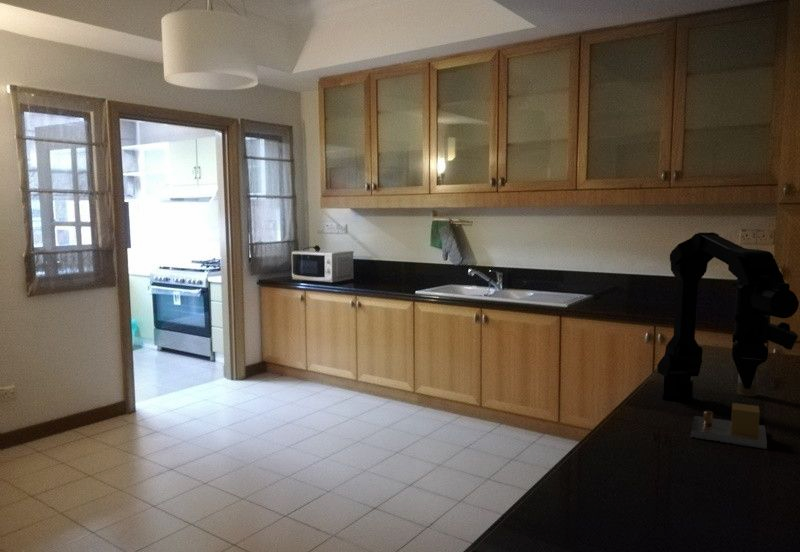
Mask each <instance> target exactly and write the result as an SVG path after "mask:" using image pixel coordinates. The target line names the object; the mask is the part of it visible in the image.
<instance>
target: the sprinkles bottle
mask: <svg viewBox="0 0 800 552" xmlns="http://www.w3.org/2000/svg"><path fill="white" fill-rule="evenodd" d="M737 373H738V372H737ZM757 384H758V368H757V369H756V372H755V376H754V379H753V382H752V385H751V388H750V389H745V388H744V386H743V383H742V381H741V378H740V375H739V373H738V374H737V390H736V393H737V394H738V395H740V396H742V397H748V398H749V397H756V396H757Z"/></svg>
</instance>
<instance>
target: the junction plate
mask: <svg viewBox="0 0 800 552" xmlns="http://www.w3.org/2000/svg"><path fill="white" fill-rule="evenodd" d="M713 416H714V412H713V411H712V410H704V411H703V416H698V415H694V416H693V419H692V424H691V429H690V438H692V437H695V438H694V439H698V438H699V439H700V440H704V439H705V441H711V440H713V442H717V441H720V443H724V442H725V444H730V443H732V444H731V445H738V446H745V447H750V448H758V449H764V450H767V449H768V440H767V433H766V426H765V425H763V424H762V425H761V424H759V433H758V436H754V435H748V434H741V433H734V432H731V420H727V419H720V418H719V419H718V418H714V417H713Z"/></svg>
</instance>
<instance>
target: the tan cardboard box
mask: <svg viewBox="0 0 800 552" xmlns="http://www.w3.org/2000/svg"><path fill="white" fill-rule="evenodd" d="M760 413H761V412H760V406H759V405H752V404H746V403H736V402H732V405H731V420H730V421H731V432H734V433H741V434H748V435H754V436H758V433H759V425H760Z"/></svg>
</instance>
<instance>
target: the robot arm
mask: <svg viewBox="0 0 800 552" xmlns="http://www.w3.org/2000/svg"><path fill="white" fill-rule="evenodd" d="M714 258H715V259H718V260H719V261H721V262H723V263H725V264H726V265H727V266H728V268H727V269H728V271H729V272H730V273H731V274H732V275H733V276H735V278H737V279H736V280H734V281H732V282H731V284H730V286H731V288H736V290H735V291H736V292H735V310H734V311H735V312H734V327H733V329H734V331H733V332H732V338H731V339H732V341H731V342H732V349H731V357H732V360H733V363H734V365H735V367H736V371H737V373H739V375H740V378H741V381H742V383H743V386H744V388H745V389H750V388H751V385H752V382H753V379H754V376H755V372H756V369H757V370H758V367H759V366H760V365H762V364H764V363H766V362H767V360H768V359H769V358H768V357H769V356H768V355H769V348H768V346H767V345H766V344H768V341H769V342H771V343H773V344H776V345H779V346H781V347H783V348H784V349H787V350H790V351H792V349H793V347H794V345H795V343H796V342H797V340H798V337H799V335H798V333H796V332H795V331H792V330H791V326H790V324H789V323H787V322H785V321H781V322H779V323H778V324H775V323H770V322H769V318H768V316H771V317H775V318H779V319H782V320H783V319H789V318H791V317H792V316H794V315H795V313H796V312H797V311H798V309H799V304H800V302H799V299H798V297H797V295H796V293H795V292H793V291H792V290H790V286H791V285H790V283H786V282H785V279H784V275H783V273H782V272H781V270H780V268H779V265H778V263H777V261H776V259H775V256H774V254H773V253H772V252H770V251H768V250H763V249H755V248H746V247H743V246H741V245H739V244H737V243H735V242H733V241H731V240H728V239H727V238H724V237H722V236H720V234H719V233H716V232H697V233H695V234H693V235H692V236H691V237H690V238H688V239H686V240H684V241H682V242H680V243H678V244H677V245H676V246H674V248H673V249H672V250H671V252H670V254H669V261H670V271H671V272H672V275H673V276H674V278H675V279H676V289H675V290H676V293H675V308H674V309H675V310H674V322H673V324H674V325H673V336H672V337H671V339H669V341H668V342H667V344H666V346H665V352H664V355H663V356H662V358H661V359H660V360H659V361H658V363H657V364H656V365H657V366H656V367H657V373H658V374H660V375H661V376H663V394H662V397H661V399H663V400H668V401H677V402H684V403H690V402H691V400H692V399H693V396H694V383H695V382H694V380H692V377H699V375H700V374H699V373H700V371H701V368H702V364H703V350H704V349H703V348H702V346H700V345H699V343H698V341H697V340H696V327H697V325H696V323H697V308H698V307H697V306H698V297H699V296H698V294H699V292H698V291H699V282H700V281H701V279H702V278H703V277H704V275H705V274H706V273H707V269H708V264H709V262H711V261H712V260H713V259H714Z"/></svg>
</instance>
